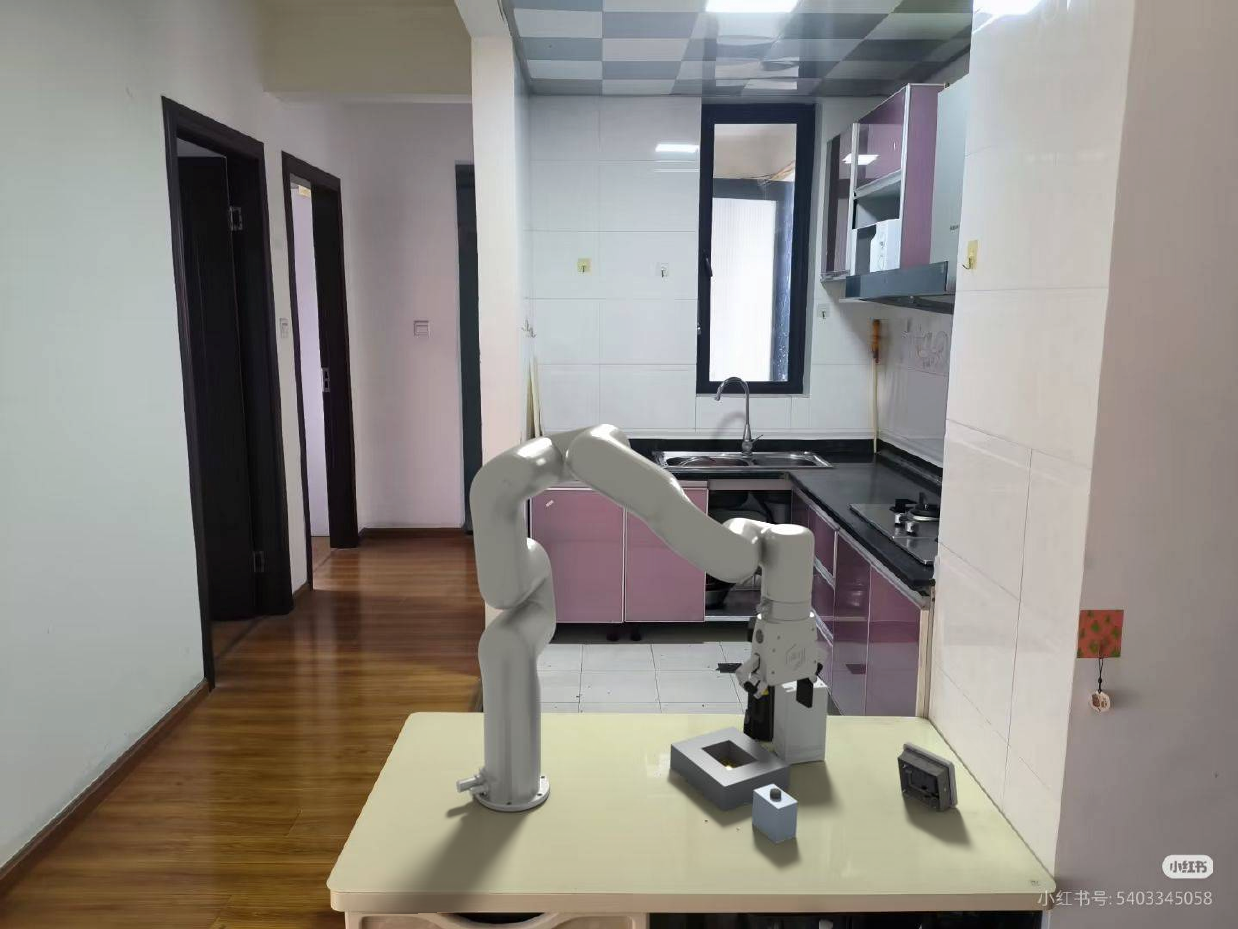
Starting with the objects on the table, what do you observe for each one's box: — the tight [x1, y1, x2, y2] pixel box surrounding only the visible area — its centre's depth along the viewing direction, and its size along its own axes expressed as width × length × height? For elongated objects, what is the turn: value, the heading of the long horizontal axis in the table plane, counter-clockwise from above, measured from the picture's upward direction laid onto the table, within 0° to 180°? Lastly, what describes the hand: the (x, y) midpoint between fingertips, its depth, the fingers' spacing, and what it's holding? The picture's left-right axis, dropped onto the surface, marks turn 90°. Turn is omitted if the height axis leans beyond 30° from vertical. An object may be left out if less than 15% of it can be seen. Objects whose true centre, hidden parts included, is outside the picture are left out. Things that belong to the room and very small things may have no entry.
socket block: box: [669, 726, 791, 812], centre depth 159 cm, size 14×16×4 cm
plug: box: [751, 784, 799, 844], centre depth 143 cm, size 4×6×7 cm, turn 30°
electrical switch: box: [897, 741, 959, 814], centre depth 152 cm, size 9×5×9 cm, turn 38°
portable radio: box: [742, 613, 775, 742], centre depth 172 cm, size 8×6×25 cm
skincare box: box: [772, 675, 829, 765], centre depth 165 cm, size 8×6×15 cm
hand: (780, 711), depth 140 cm, fingers open, 9 cm apart
